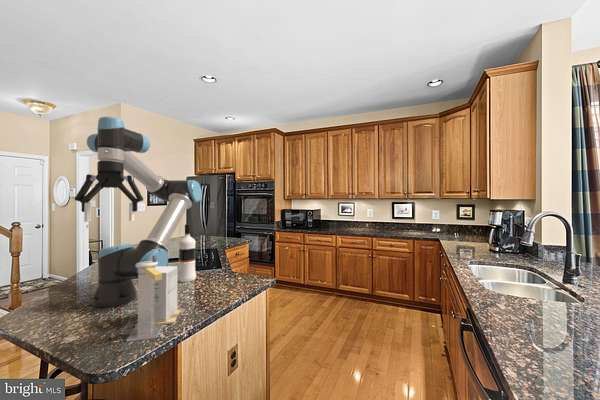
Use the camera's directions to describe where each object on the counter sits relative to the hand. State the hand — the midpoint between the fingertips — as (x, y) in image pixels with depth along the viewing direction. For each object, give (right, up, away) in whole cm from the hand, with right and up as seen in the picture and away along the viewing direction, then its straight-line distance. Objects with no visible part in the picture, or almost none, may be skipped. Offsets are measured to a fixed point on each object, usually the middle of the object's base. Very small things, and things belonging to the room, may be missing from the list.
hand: (110, 221), depth 91 cm
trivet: (+17, -35, +1) cm, 39 cm away
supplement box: (+17, -34, +1) cm, 38 cm away
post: (+19, -35, -10) cm, 41 cm away
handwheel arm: (+22, -15, -14) cm, 30 cm away
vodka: (+7, -36, +46) cm, 59 cm away
